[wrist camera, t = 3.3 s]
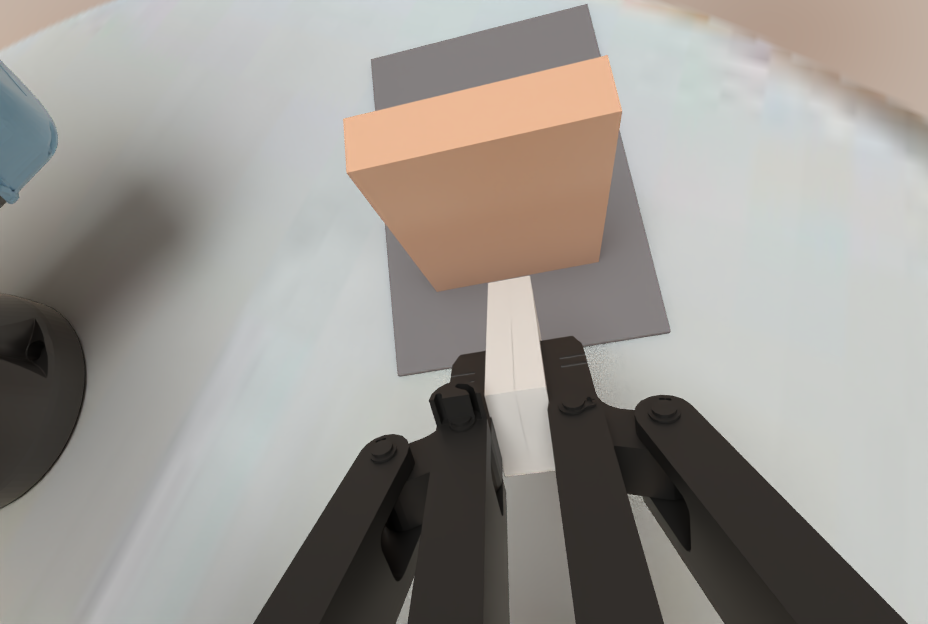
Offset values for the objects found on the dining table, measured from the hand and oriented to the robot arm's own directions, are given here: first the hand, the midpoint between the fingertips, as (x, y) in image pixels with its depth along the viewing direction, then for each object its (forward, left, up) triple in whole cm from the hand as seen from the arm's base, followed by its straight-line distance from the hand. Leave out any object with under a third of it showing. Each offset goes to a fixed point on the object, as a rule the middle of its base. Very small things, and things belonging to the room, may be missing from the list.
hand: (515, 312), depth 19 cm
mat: (-6, +12, -12) cm, 18 cm away
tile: (-3, +6, -12) cm, 14 cm away
